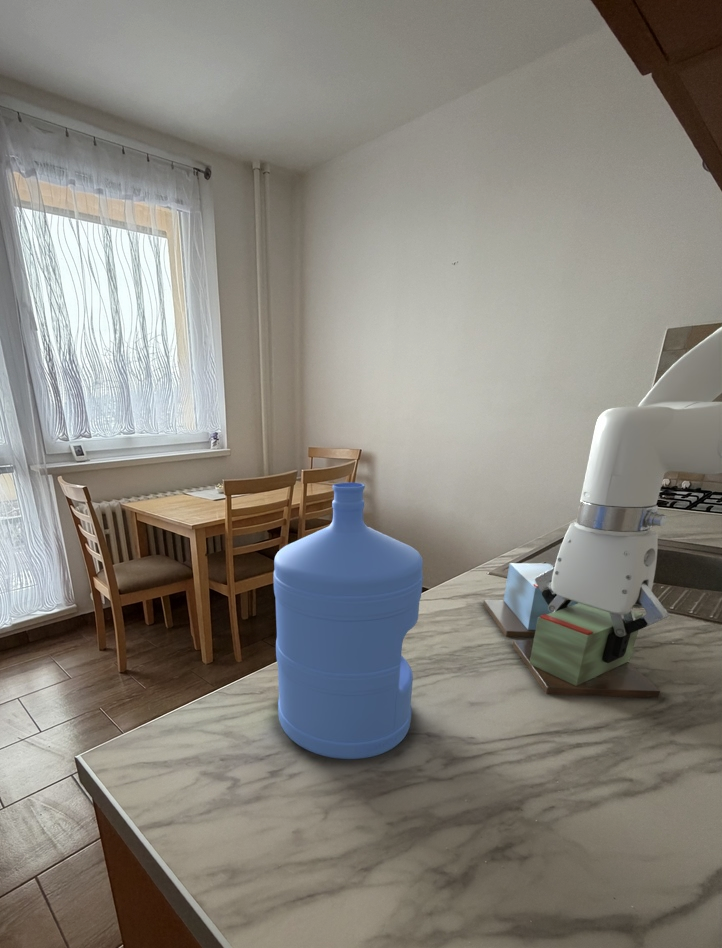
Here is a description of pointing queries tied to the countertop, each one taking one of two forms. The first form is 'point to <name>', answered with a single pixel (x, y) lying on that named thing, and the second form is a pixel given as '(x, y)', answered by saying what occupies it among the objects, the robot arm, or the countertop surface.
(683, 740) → the countertop surface
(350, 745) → the water jug
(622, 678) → the brown wooden board
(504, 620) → the dark brown base plate
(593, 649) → the near tissue box
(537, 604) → the far tissue box
